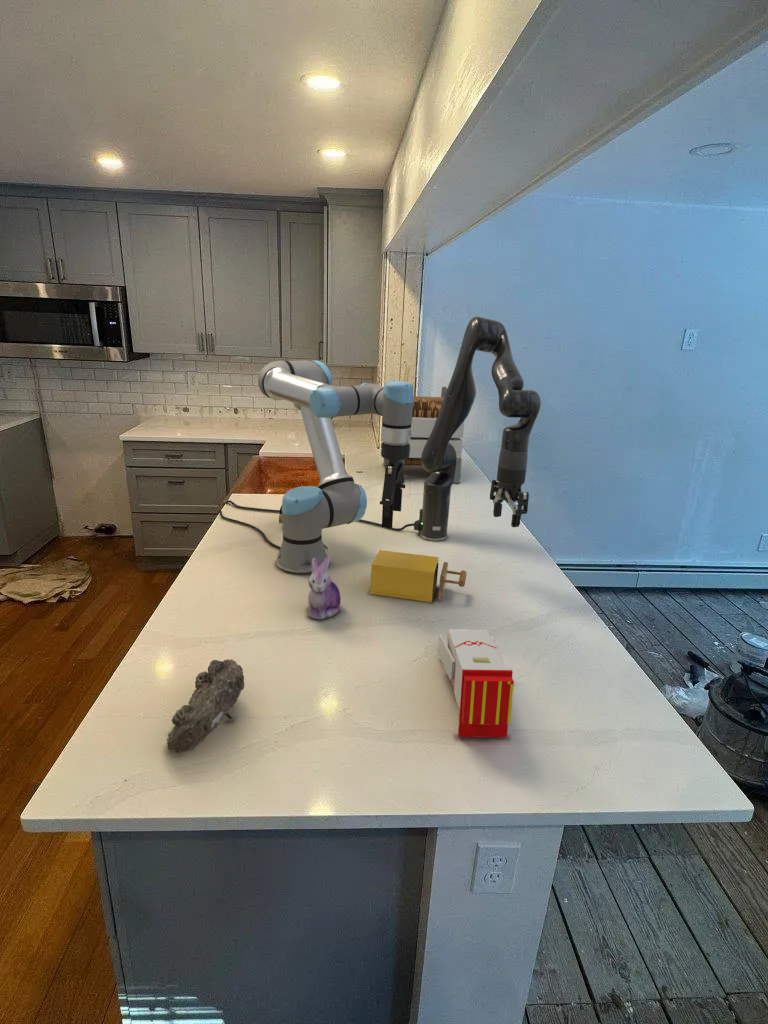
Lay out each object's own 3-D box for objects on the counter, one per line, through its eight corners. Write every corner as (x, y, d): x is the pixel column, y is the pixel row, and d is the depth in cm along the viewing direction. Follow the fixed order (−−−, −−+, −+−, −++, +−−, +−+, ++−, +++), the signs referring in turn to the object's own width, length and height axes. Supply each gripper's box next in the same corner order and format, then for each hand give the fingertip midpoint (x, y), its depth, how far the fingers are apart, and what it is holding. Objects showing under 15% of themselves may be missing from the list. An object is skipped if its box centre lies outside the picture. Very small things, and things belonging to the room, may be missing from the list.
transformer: (382, 463, 289) (386, 382, 275) (445, 464, 293) (451, 384, 279) (390, 482, 257) (394, 392, 243) (460, 483, 261) (468, 394, 247)
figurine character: (297, 533, 199) (302, 514, 212) (296, 514, 196) (301, 496, 209) (278, 533, 199) (284, 514, 212) (277, 514, 195) (283, 495, 209)
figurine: (313, 624, 141) (313, 569, 135) (299, 605, 149) (299, 553, 144) (348, 616, 145) (349, 563, 140) (333, 598, 153) (333, 547, 148)
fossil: (192, 660, 117) (244, 628, 112) (224, 691, 120) (276, 661, 115) (142, 746, 98) (202, 712, 93) (182, 779, 101) (242, 748, 96)
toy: (488, 613, 130) (523, 677, 101) (484, 667, 133) (517, 744, 104) (435, 612, 130) (455, 676, 101) (432, 666, 133) (451, 743, 103)
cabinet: (436, 585, 164) (438, 557, 161) (431, 602, 154) (434, 572, 151) (378, 577, 167) (379, 549, 164) (370, 593, 157) (371, 564, 154)
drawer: (465, 587, 161) (467, 564, 159) (463, 602, 153) (465, 578, 150) (391, 577, 165) (392, 555, 163) (385, 591, 157) (386, 568, 154)
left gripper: (402, 455, 135) (397, 537, 142) (417, 434, 158) (412, 505, 165) (371, 452, 136) (368, 533, 144) (390, 431, 159) (387, 502, 167)
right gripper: (540, 471, 148) (532, 528, 153) (508, 457, 160) (502, 511, 166) (516, 473, 145) (509, 532, 150) (485, 459, 157) (480, 514, 163)
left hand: (391, 518), depth 155 cm, fingers open, 13 cm apart
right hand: (505, 521), depth 158 cm, fingers open, 8 cm apart
